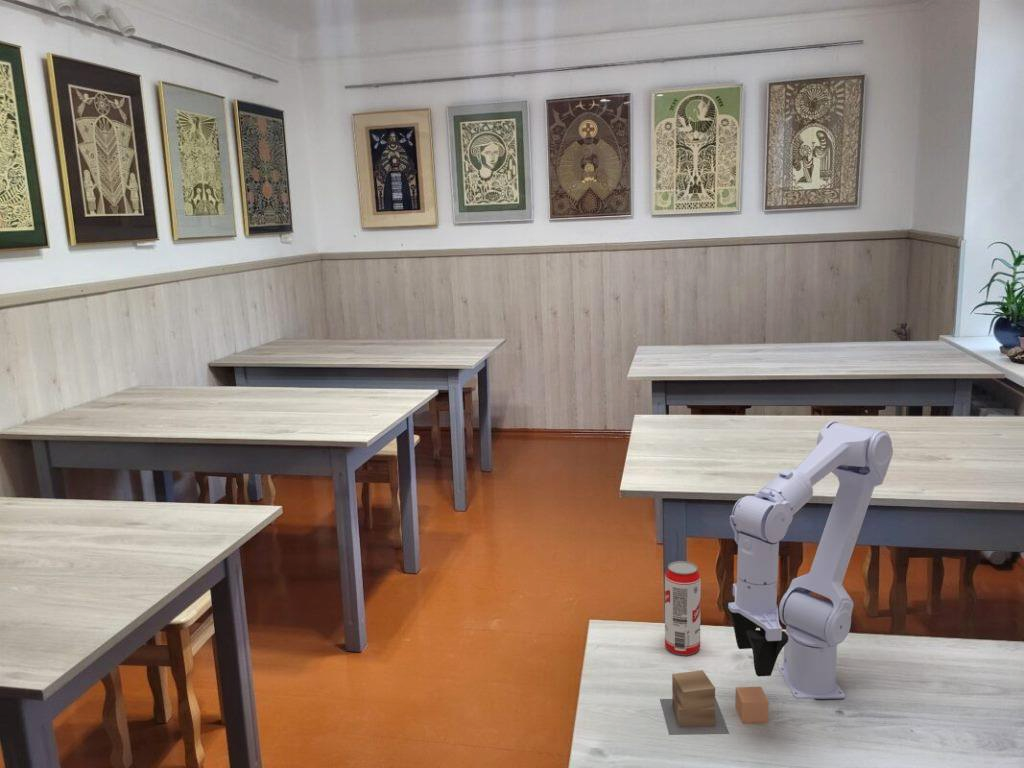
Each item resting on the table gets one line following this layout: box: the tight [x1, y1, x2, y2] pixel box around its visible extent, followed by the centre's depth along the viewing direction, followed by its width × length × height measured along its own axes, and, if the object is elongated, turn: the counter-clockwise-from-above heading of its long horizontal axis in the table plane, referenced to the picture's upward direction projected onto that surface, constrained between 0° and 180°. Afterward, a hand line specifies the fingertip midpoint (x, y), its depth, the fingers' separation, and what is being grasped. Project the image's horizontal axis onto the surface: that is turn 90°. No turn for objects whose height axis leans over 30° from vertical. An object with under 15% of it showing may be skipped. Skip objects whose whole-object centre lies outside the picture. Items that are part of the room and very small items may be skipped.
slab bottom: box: [671, 690, 715, 727], centre depth 121 cm, size 6×6×3 cm
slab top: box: [671, 669, 716, 710], centre depth 120 cm, size 5×5×3 cm
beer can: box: [664, 560, 702, 656], centre depth 139 cm, size 6×6×16 cm
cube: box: [734, 686, 770, 724], centre depth 121 cm, size 4×4×4 cm
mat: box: [659, 697, 730, 736], centre depth 121 cm, size 9×9×1 cm
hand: (753, 660), depth 118 cm, fingers open, 7 cm apart
